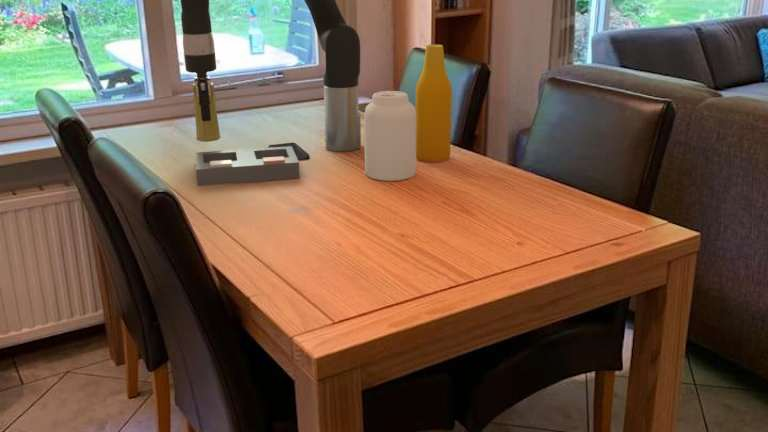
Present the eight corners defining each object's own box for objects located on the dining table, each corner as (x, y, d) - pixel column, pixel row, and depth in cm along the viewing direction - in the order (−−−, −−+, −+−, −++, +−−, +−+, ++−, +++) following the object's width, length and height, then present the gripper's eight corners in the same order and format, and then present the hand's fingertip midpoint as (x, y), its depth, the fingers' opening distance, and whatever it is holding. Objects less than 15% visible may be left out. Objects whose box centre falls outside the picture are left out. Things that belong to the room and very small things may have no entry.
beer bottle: (410, 161, 198) (411, 47, 188) (420, 152, 206) (421, 42, 196) (445, 164, 195) (448, 49, 185) (453, 154, 203) (457, 43, 193)
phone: (281, 159, 197) (267, 145, 210) (281, 163, 198) (267, 149, 211) (310, 155, 200) (295, 142, 213) (311, 160, 201) (295, 146, 214)
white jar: (355, 177, 185) (354, 95, 178) (379, 164, 195) (379, 86, 188) (401, 184, 179) (402, 100, 172) (424, 170, 190) (425, 90, 183)
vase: (207, 143, 194) (201, 87, 189) (191, 139, 198) (185, 84, 193) (225, 138, 199) (220, 83, 194) (209, 134, 202) (204, 80, 197)
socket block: (292, 161, 198) (291, 143, 197) (299, 178, 185) (298, 159, 183) (197, 167, 193) (195, 150, 192) (197, 185, 179) (195, 167, 178)
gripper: (215, 54, 185) (222, 123, 191) (213, 46, 198) (220, 111, 204) (183, 56, 183) (191, 125, 189) (184, 48, 196) (191, 113, 202)
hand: (206, 117), depth 196 cm, fingers closed on vase, 5 cm apart
